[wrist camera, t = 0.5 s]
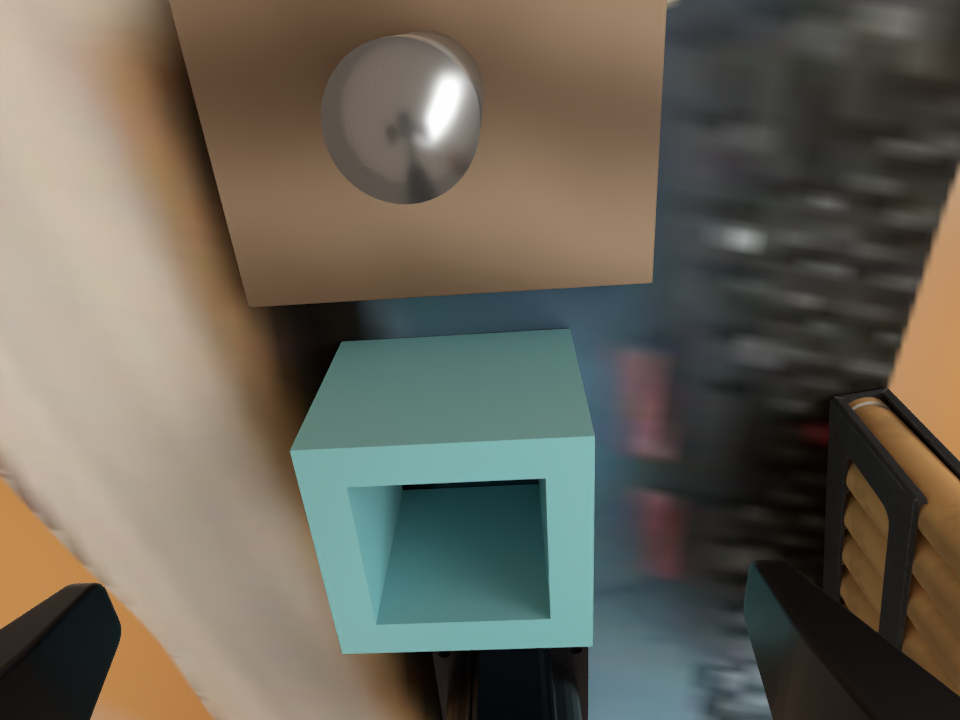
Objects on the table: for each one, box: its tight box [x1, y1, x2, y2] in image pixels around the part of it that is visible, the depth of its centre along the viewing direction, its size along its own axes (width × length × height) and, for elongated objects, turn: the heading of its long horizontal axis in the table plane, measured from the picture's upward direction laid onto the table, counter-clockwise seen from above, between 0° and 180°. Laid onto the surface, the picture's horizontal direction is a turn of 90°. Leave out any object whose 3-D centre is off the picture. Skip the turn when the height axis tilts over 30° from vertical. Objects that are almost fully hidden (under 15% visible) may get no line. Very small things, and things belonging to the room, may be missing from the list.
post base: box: [169, 0, 667, 307], centre depth 15 cm, size 11×12×6 cm
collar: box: [290, 329, 595, 654], centre depth 20 cm, size 7×7×6 cm
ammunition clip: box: [823, 388, 960, 696], centre depth 19 cm, size 11×2×12 cm, turn 12°
